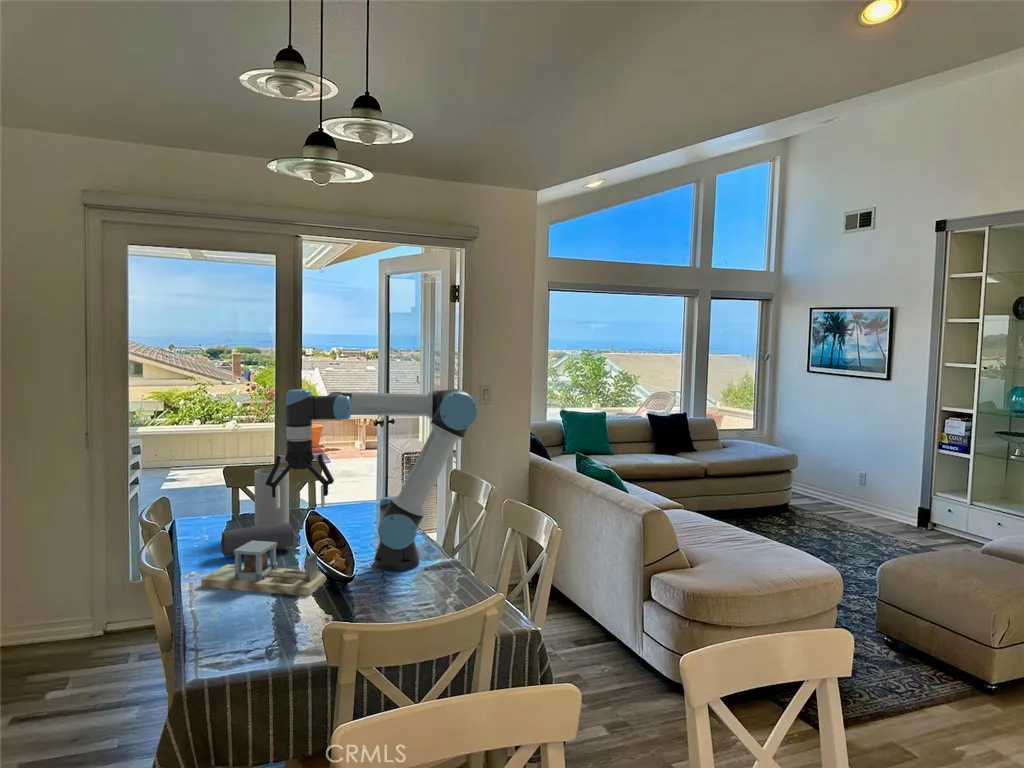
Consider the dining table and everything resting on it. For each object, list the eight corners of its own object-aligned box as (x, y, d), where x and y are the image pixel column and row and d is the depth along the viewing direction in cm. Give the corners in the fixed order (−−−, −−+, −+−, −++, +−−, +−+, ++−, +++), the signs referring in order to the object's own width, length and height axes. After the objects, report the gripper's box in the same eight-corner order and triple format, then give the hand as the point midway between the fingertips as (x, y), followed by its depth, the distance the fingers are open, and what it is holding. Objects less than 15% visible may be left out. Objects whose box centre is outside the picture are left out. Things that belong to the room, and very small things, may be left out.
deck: (329, 579, 213) (329, 571, 213) (309, 595, 200) (309, 587, 199) (227, 571, 219) (227, 563, 218) (201, 587, 205) (201, 578, 205)
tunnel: (277, 570, 214) (277, 542, 213) (260, 581, 204) (260, 552, 203) (252, 568, 215) (251, 540, 215) (233, 579, 205) (233, 550, 204)
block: (267, 569, 212) (267, 552, 211) (259, 574, 207) (259, 557, 206) (252, 568, 212) (252, 551, 212) (244, 573, 207) (244, 556, 207)
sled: (318, 574, 210) (318, 552, 209) (308, 582, 203) (308, 559, 203) (248, 569, 213) (247, 547, 213) (236, 576, 207) (236, 554, 207)
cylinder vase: (295, 533, 263) (295, 470, 261) (268, 540, 253) (268, 475, 251) (274, 528, 270) (274, 466, 268) (247, 535, 259) (247, 471, 258)
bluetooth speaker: (287, 545, 248) (287, 518, 247) (294, 552, 240) (294, 524, 239) (220, 555, 235) (220, 527, 234) (225, 563, 227) (225, 533, 227)
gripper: (341, 436, 214) (342, 502, 216) (260, 438, 211) (261, 505, 212) (339, 440, 207) (340, 508, 208) (254, 441, 203) (256, 511, 205)
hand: (300, 506), depth 210 cm, fingers open, 13 cm apart
